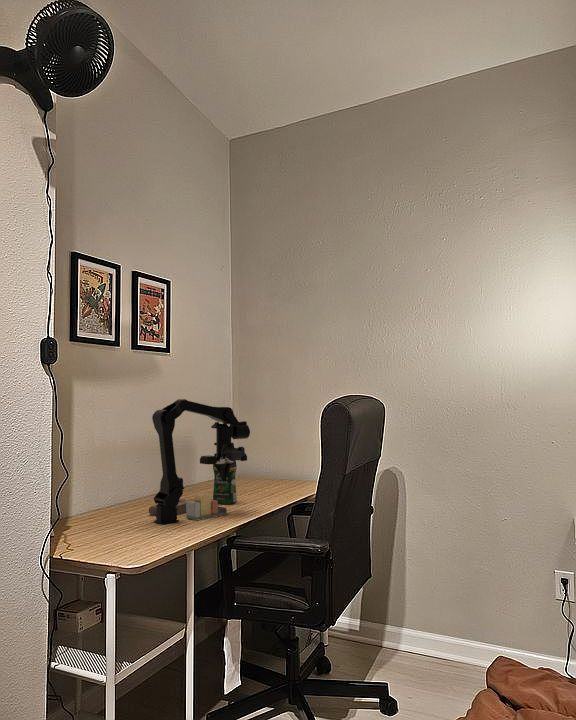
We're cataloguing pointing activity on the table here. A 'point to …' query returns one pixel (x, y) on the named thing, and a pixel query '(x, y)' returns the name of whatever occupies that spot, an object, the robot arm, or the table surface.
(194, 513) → the vise
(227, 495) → the coffee jar
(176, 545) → the table surface
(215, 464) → the robot arm
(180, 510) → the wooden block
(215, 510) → the block
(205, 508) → the block
